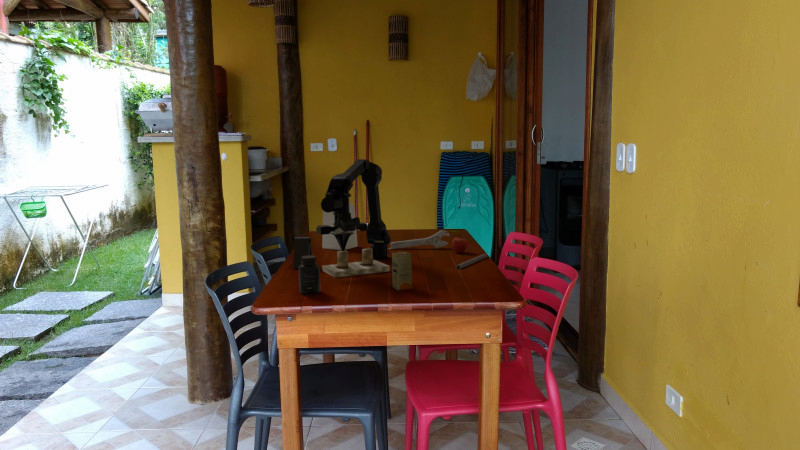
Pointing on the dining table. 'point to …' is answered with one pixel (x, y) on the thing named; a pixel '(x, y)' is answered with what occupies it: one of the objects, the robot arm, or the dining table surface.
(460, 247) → the apple
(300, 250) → the phone stand
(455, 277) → the dining table surface
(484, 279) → the dining table surface
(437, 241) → the wrench
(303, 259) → the supplement bottle
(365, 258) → the seated peg
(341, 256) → the oak peg
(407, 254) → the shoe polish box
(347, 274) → the birch board
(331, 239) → the milk
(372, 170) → the robot arm
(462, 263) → the metal rod
